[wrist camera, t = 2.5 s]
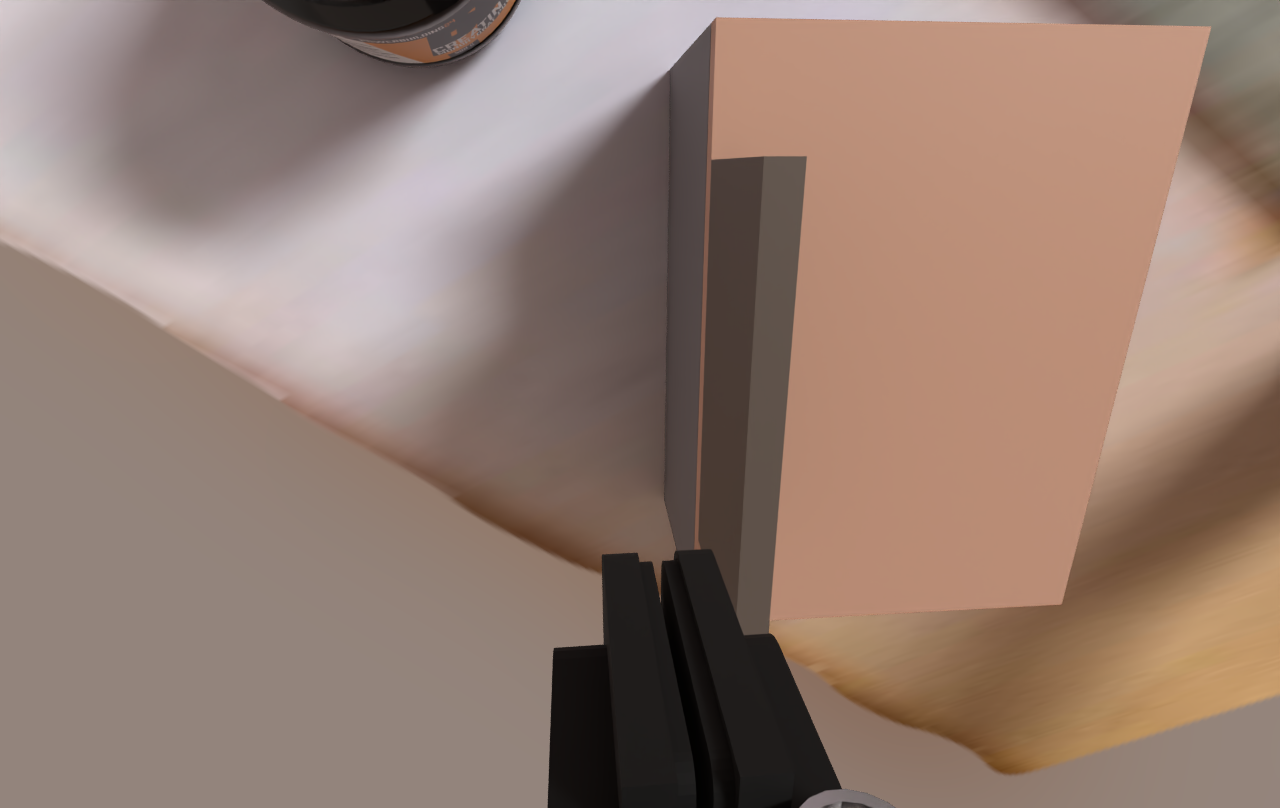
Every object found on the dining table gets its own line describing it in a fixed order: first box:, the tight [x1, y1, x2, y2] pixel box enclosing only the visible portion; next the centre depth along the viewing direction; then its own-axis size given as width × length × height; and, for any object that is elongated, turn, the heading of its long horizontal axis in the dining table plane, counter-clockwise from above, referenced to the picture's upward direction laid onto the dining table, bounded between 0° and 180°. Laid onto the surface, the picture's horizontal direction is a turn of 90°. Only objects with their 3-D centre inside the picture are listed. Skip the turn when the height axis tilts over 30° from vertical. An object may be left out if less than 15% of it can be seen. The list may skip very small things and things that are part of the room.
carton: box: [664, 24, 711, 551], centre depth 30 cm, size 16×22×10 cm
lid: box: [694, 18, 1211, 635], centre depth 21 cm, size 16×22×7 cm
